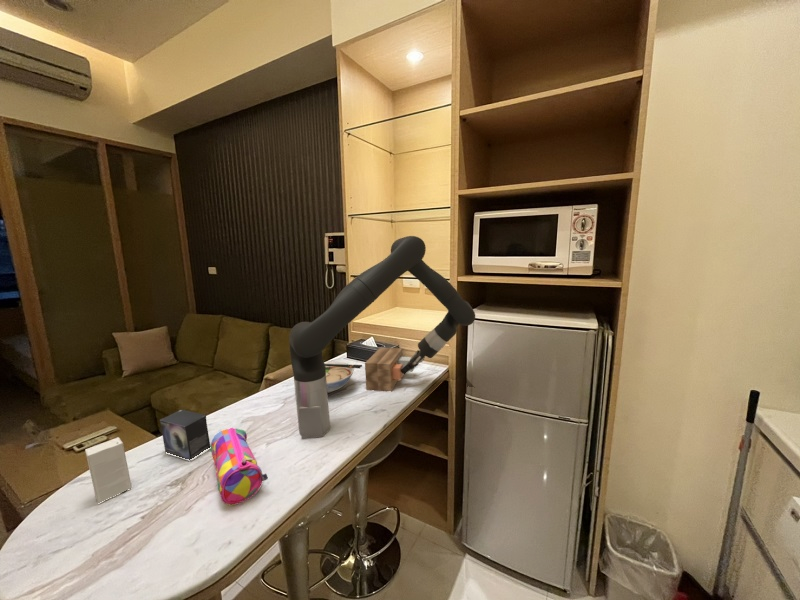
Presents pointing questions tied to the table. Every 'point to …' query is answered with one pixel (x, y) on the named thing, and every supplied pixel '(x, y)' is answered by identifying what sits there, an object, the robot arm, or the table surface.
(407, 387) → the table surface
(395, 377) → the salmon key
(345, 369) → the ramen bowl
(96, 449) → the skincare box
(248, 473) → the pencil case
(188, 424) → the small box
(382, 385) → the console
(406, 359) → the grey key
